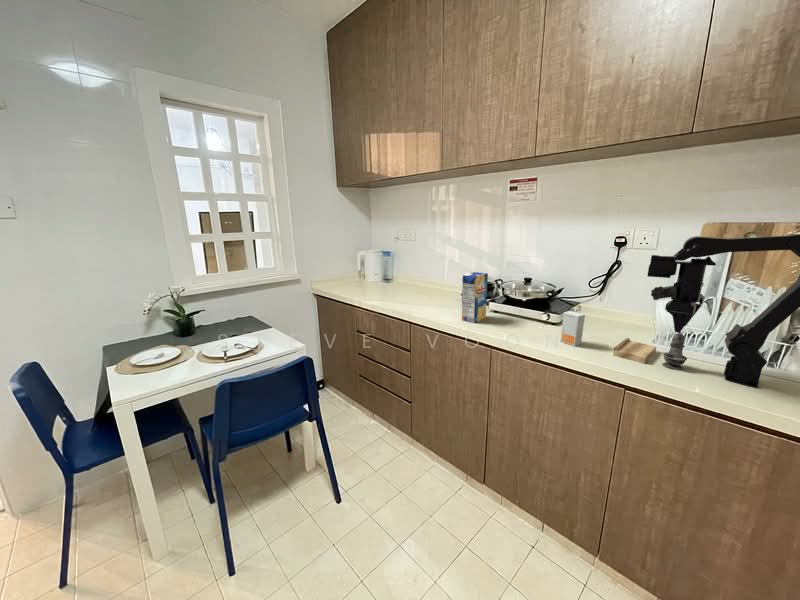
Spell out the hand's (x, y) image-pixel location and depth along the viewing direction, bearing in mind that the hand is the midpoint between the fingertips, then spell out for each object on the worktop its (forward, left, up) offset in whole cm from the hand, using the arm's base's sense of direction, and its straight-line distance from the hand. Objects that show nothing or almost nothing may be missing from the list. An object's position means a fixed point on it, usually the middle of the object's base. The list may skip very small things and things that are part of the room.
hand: (680, 328), depth 98 cm
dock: (+11, -3, -13) cm, 17 cm away
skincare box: (+30, +3, -13) cm, 33 cm away
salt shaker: (0, 0, -13) cm, 13 cm away
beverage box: (+74, +5, -13) cm, 75 cm away
